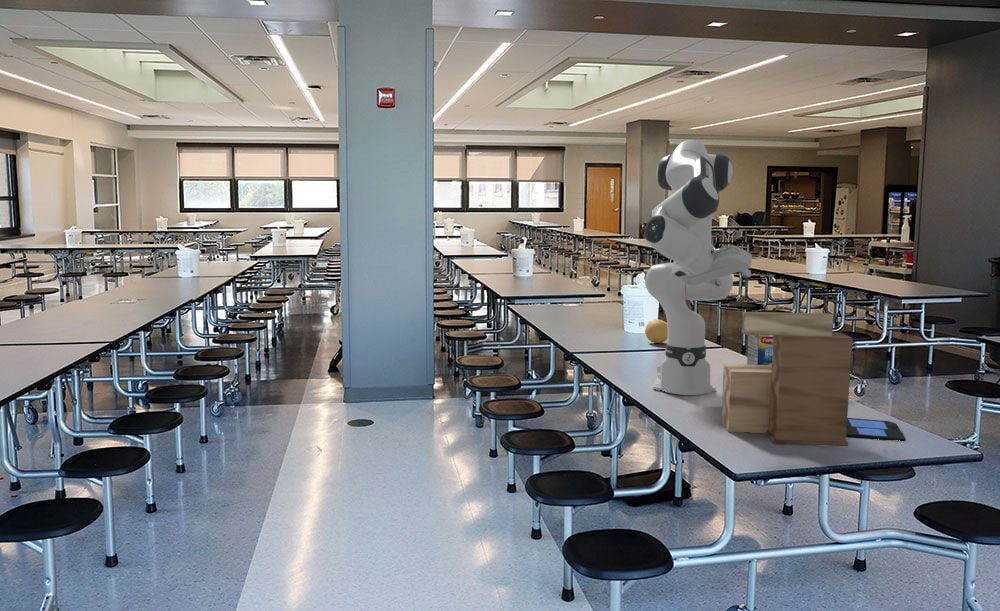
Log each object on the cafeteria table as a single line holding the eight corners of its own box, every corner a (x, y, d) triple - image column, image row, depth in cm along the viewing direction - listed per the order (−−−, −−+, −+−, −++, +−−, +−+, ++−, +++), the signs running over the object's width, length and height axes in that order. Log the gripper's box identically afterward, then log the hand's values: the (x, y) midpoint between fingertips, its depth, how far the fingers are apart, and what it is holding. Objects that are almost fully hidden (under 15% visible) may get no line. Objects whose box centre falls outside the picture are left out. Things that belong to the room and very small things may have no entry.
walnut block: (766, 434, 194) (771, 331, 190) (835, 436, 192) (842, 332, 189) (775, 444, 185) (780, 337, 182) (847, 446, 184) (854, 338, 181)
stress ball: (664, 348, 312) (679, 331, 315) (650, 330, 310) (664, 313, 313) (650, 348, 321) (664, 331, 324) (636, 331, 319) (650, 314, 322)
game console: (841, 438, 192) (842, 430, 191) (834, 424, 204) (835, 416, 204) (906, 444, 188) (907, 435, 188) (894, 429, 200) (895, 420, 200)
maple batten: (742, 332, 189) (743, 311, 188) (826, 333, 187) (828, 313, 186) (745, 334, 185) (746, 314, 184) (831, 336, 183) (833, 315, 183)
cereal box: (745, 381, 251) (748, 313, 249) (776, 379, 253) (780, 313, 251) (756, 385, 245) (759, 316, 242) (788, 384, 247) (791, 316, 244)
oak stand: (721, 422, 204) (724, 358, 202) (807, 424, 202) (811, 360, 200) (728, 432, 195) (731, 365, 193) (818, 434, 193) (822, 367, 191)
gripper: (731, 233, 190) (768, 258, 196) (670, 256, 207) (706, 278, 213) (728, 255, 188) (765, 280, 194) (667, 276, 204) (703, 298, 210)
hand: (734, 279), depth 204 cm, fingers open, 8 cm apart
